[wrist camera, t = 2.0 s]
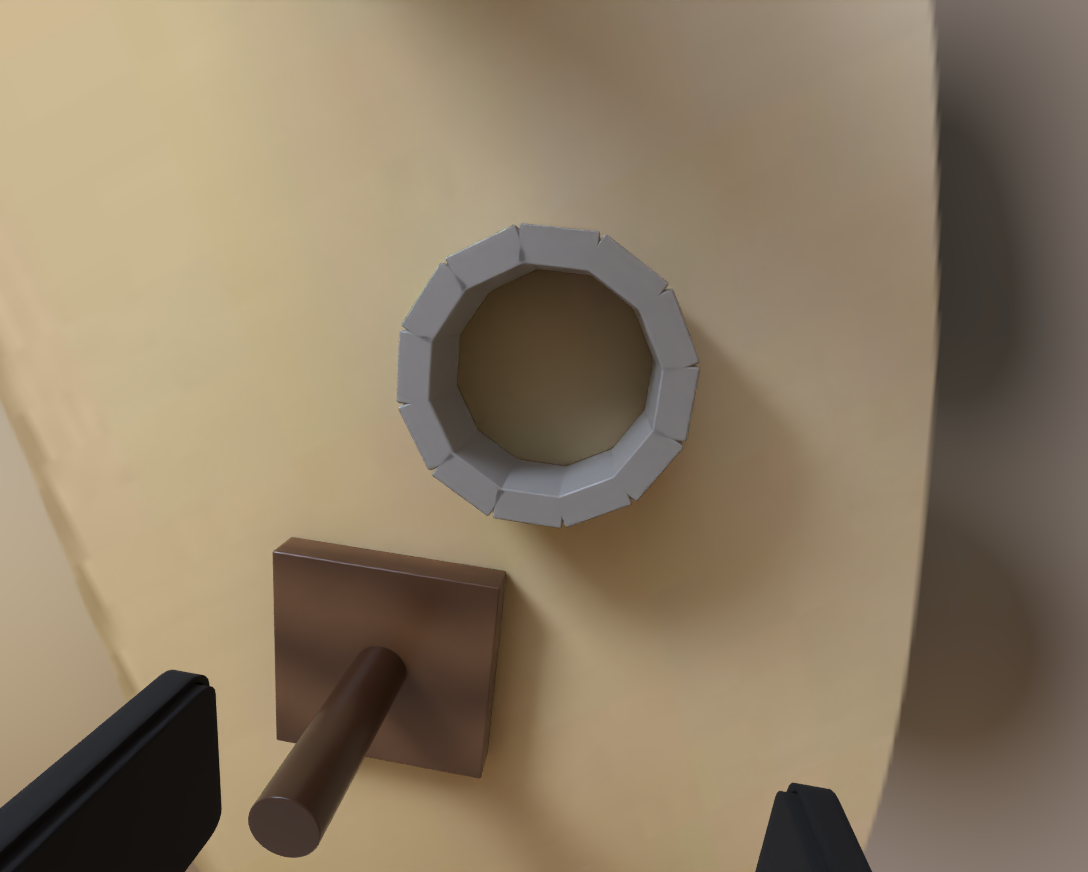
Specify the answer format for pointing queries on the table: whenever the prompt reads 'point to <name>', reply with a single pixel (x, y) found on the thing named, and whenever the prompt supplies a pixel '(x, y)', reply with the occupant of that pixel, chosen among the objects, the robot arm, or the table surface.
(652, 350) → the tape roll
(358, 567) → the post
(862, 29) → the table surface
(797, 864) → the robot arm
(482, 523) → the table surface
